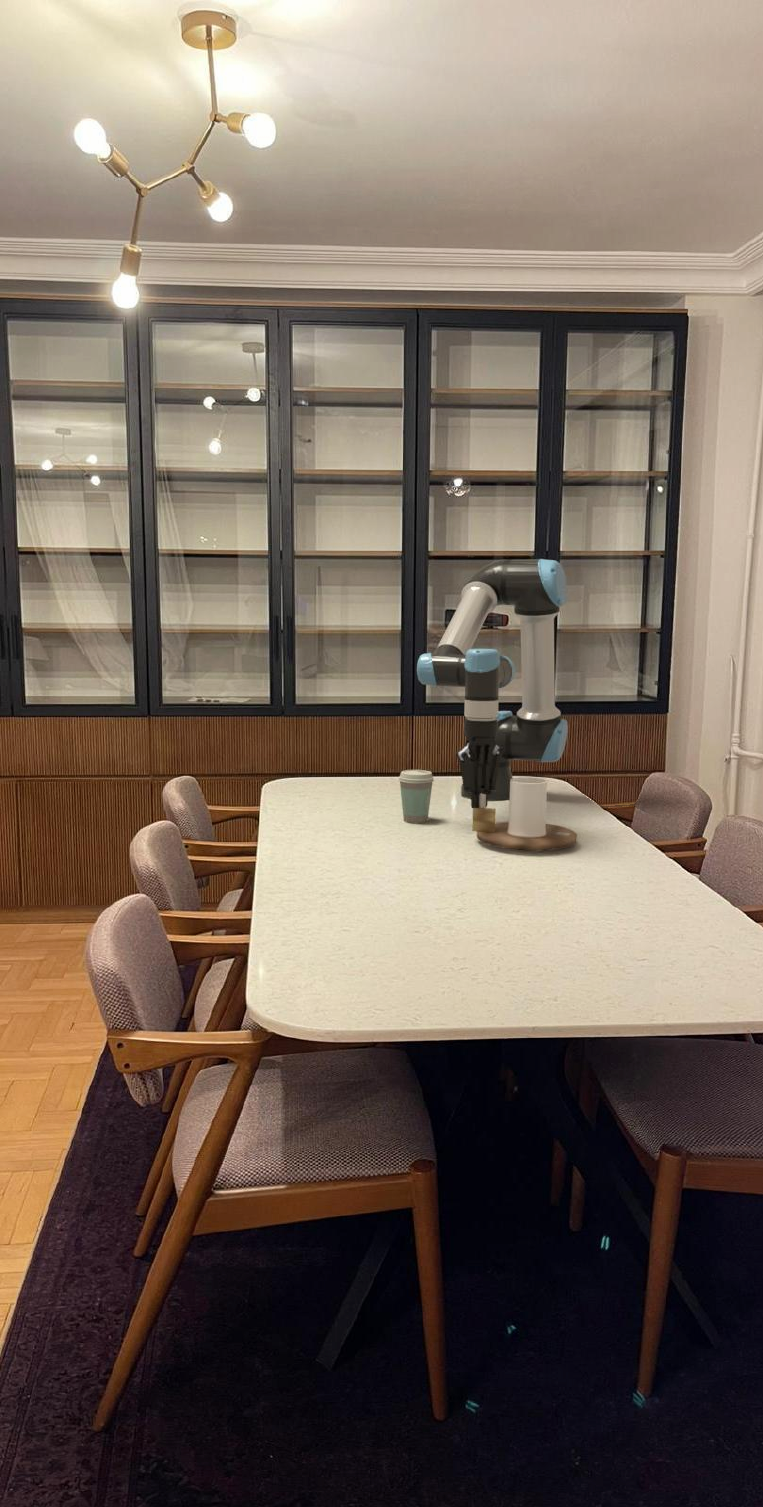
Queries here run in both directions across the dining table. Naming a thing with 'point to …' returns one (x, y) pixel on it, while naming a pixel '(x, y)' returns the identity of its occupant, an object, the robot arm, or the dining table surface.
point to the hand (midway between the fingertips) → (478, 822)
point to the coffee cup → (416, 794)
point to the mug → (527, 807)
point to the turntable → (499, 837)
